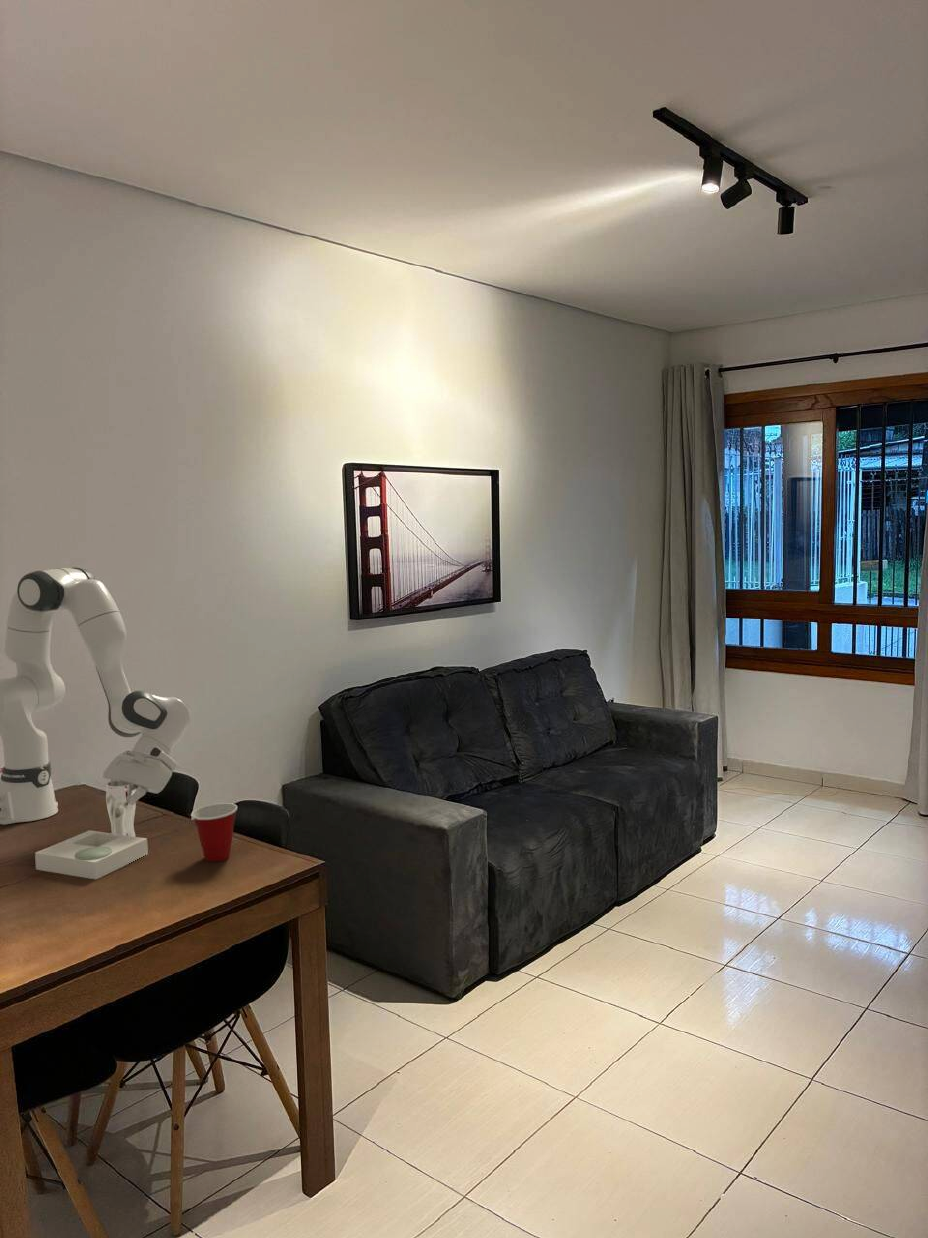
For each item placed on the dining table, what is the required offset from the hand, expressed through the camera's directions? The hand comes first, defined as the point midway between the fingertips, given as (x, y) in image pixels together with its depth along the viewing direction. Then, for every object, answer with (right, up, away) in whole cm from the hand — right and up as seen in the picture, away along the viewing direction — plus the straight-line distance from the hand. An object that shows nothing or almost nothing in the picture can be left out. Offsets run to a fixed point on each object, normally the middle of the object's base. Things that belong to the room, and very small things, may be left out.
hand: (119, 801), depth 234 cm
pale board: (-1, -12, -13) cm, 18 cm away
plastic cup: (+28, -12, -11) cm, 32 cm away
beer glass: (+1, -11, +2) cm, 11 cm away
